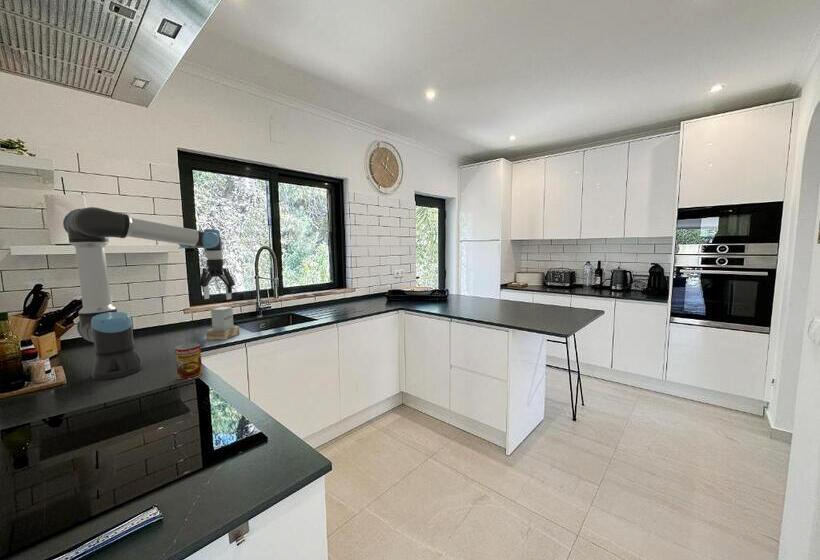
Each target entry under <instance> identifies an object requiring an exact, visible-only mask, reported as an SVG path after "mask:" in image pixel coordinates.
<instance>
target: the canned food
mask: <svg viewBox="0 0 820 560" xmlns="http://www.w3.org/2000/svg"><path fill="white" fill-rule="evenodd" d="M174 349H175V350H174V352H175V360H176V370H177V371H176V372H177V379H178V378H179V379H188V378H193V377H196V376H199V375H201V374H202V373H203V365H202V354H201V353H202V351H201V344H200V343H199V342H187V343H181V344H179V345H177V346H175V347H174ZM202 375H203V374H202ZM202 375H201V376H202ZM179 379H178V380H179Z"/></svg>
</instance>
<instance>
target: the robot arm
mask: <svg viewBox="0 0 820 560" xmlns="http://www.w3.org/2000/svg"><path fill="white" fill-rule="evenodd" d="M62 227H63V228H64V230H65V232H66V233H67V237H68V243H69V244H70V245H71V246H73V247H74V249H75V256H76V262H77V263H76V264H77V270H78V279H79V280H78V281H79V286H80V294H81V302H82V308H81V309H79V311H78V321H77V325H76V330H77V332H78V334H79V336H81V338H83V339H84V340H86V341H88V342H91V343H93V344H94V352H95V359H94V363H93V368H92V371H91V378H92V379H93V380H95V381H96V380H97V381H104V380H105V381H106V380H114V379H119V378H122V377H126V376H130V375H132V374H135V373H137V372H139V371H141V370H142V369H143V363H142V361H141V359H140V357H139V355H138V354H137V352H136V349H135V341H134V333H133V321H132V319H131V315H130V314H129V313H126V312H123V311H120V312H118V309H117V307H116V306H114V305H113V304H112V300H111V291H110V282H109V276H108V275H109V274H108V267H107V257H106V250H105V247H106V246H107V245H108V244H109V243H110V241H109V238H117V239H118V238H120V239H126V238H128V237H130V238H136V239H144V240H149V241H157V242H162V243H171V244H178V245H179V247H180V248H181V249H205V259H206V260H205V262H206V266H207V267H203V268H202V274H201V275H200V279H199V282H198V286H199V287H200V286H201V287H202V293H203V299H204V300H208V299H210V288H209V287H210V286H209V283H210V282H211V280H212V279H213V277H214V278H216V277H217V278H219V279H221V281H222V282H223V283H224V285H225V286H226V287H225V297H226V300H232V293H233V287H234V286H235V285H236V283H235V281H234V279H233V277H232V275H231V273H230V270H229V268H228V267H224V259H223V245H222V244H223V243H222V241H223V240H222V239H223V238H222V233H221V230H220V229H218V228H205V229H203V230H197V229H192V228H186V227H182V226H178V225H177V226H176V225H170V224H165V223H161V222H160V223H159V222H155V221H150V220H143V219H139V218H134V217H131V216H130V215H129V214H127V213H126V214H125V213H121V212H117V211H113V210H108V209H105V208H100V207H96V206H92V207H91V206H90V207H83V208H76V209H73V210H70V212H68V213H67V214H66V215H65V216H64V218H63V221H62ZM223 267H224V268H223Z"/></svg>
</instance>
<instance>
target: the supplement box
mask: <svg viewBox="0 0 820 560" xmlns="http://www.w3.org/2000/svg"><path fill="white" fill-rule="evenodd" d="M210 315H211V316H210V317H211V326H212V328H211V329H213V331H226V330H229V329H231V328H234V326H235V325H234V315H233V307H232V306H219V307H216V308H212V309H211V310H210Z"/></svg>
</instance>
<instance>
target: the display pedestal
mask: <svg viewBox="0 0 820 560" xmlns="http://www.w3.org/2000/svg"><path fill="white" fill-rule="evenodd" d="M205 333H206V340H214V339H226V340H228V339H227V338H229V339H231V338H234V337H235V335H236V336H238V334H239V335H240V326H239V325H238V326H237V325H234V328H231V329H229V330H226V331H213V328H210V329H208V330H205ZM233 336H234V337H233ZM230 337H231V338H230Z"/></svg>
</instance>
